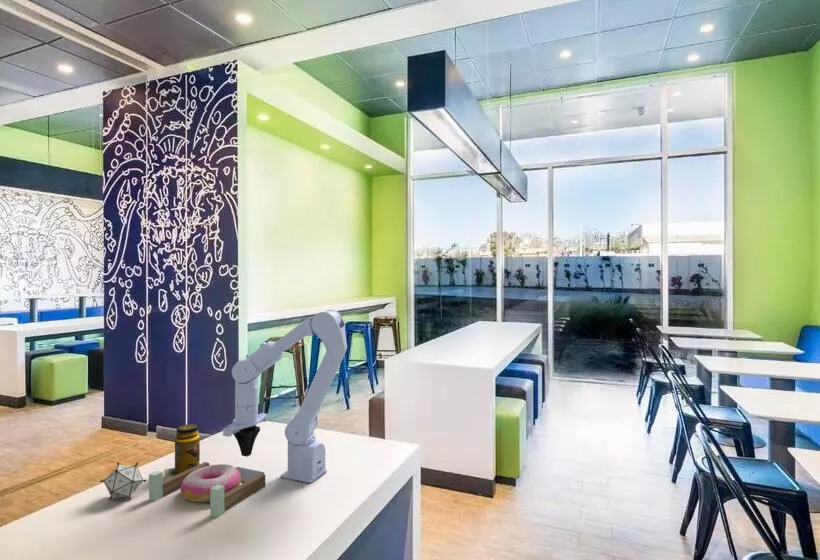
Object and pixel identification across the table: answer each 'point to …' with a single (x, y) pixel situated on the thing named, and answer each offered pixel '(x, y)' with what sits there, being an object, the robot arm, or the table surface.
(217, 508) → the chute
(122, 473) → the game die
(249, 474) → the grey flat panel
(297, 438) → the robot arm
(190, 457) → the condiment
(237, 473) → the donut
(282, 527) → the table surface
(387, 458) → the table surface
